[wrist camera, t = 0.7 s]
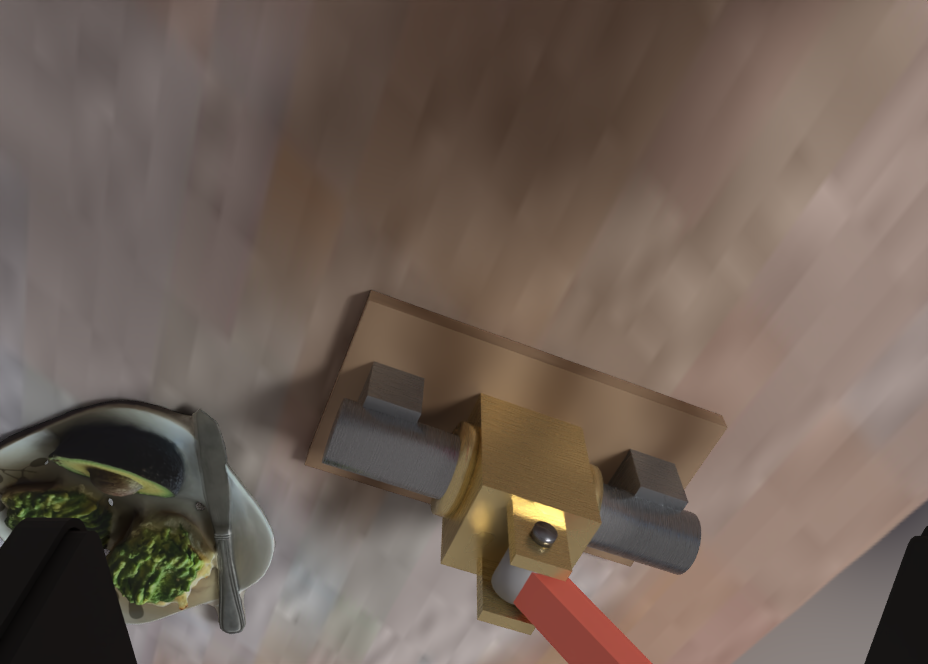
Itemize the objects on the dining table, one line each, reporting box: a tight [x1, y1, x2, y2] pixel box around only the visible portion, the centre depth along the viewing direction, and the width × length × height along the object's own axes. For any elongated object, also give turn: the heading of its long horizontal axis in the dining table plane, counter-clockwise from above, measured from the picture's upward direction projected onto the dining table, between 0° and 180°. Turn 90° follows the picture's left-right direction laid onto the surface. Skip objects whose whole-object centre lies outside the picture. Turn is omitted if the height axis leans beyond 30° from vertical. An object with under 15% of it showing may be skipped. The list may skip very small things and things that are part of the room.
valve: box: [322, 361, 701, 635], centre depth 43 cm, size 21×6×11 cm, turn 68°
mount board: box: [305, 290, 727, 567], centre depth 48 cm, size 22×12×1 cm, turn 68°
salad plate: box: [0, 400, 276, 634], centre depth 51 cm, size 19×18×5 cm
